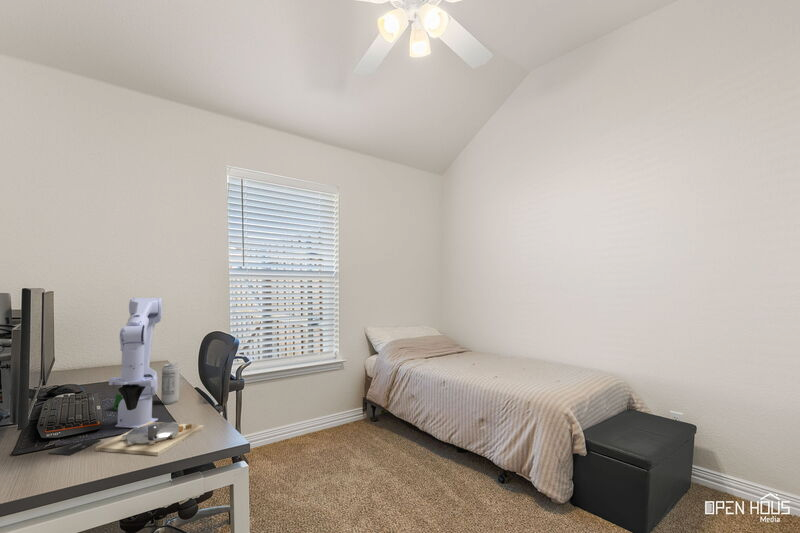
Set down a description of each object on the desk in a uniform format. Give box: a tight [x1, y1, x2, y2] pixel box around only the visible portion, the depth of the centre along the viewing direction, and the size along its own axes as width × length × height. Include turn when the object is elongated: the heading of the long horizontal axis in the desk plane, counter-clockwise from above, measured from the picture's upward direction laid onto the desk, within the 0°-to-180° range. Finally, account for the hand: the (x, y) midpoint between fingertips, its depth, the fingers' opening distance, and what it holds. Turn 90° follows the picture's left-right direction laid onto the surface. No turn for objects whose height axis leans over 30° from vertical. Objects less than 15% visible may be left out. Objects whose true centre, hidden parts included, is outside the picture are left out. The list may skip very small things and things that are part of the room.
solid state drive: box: [48, 438, 102, 456], centre depth 115 cm, size 7×10×1 cm
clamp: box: [113, 393, 154, 411], centre depth 148 cm, size 12×6×9 cm, turn 77°
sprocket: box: [122, 421, 183, 445], centre depth 121 cm, size 16×16×4 cm
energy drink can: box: [160, 362, 180, 405], centre depth 156 cm, size 6×6×15 cm
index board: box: [95, 421, 205, 457], centre depth 121 cm, size 20×20×2 cm
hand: (131, 409), depth 120 cm, fingers closed
